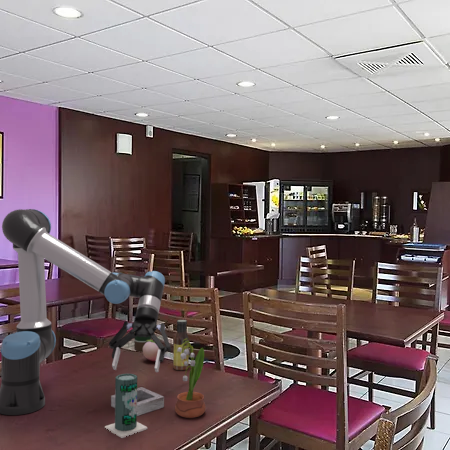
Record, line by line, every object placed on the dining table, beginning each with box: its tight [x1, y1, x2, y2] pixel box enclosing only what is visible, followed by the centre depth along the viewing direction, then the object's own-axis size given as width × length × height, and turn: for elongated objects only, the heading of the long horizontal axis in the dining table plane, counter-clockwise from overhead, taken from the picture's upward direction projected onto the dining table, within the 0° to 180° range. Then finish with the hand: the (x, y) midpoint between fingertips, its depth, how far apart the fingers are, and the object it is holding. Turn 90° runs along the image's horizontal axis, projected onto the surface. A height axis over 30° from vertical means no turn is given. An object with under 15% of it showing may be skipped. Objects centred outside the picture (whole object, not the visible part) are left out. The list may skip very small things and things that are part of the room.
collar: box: [110, 386, 165, 417], centre depth 170 cm, size 12×12×4 cm
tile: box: [104, 421, 148, 439], centre depth 153 cm, size 9×9×1 cm
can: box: [114, 373, 138, 431], centre depth 153 cm, size 6×6×15 cm
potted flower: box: [174, 337, 207, 419], centre depth 164 cm, size 12×10×25 cm
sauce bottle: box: [172, 319, 190, 371], centre depth 210 cm, size 7×6×20 cm
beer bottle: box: [133, 336, 152, 353], centre depth 237 cm, size 8×8×24 cm
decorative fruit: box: [142, 339, 159, 362], centre depth 219 cm, size 9×8×10 cm
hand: (135, 369), depth 161 cm, fingers open, 13 cm apart
